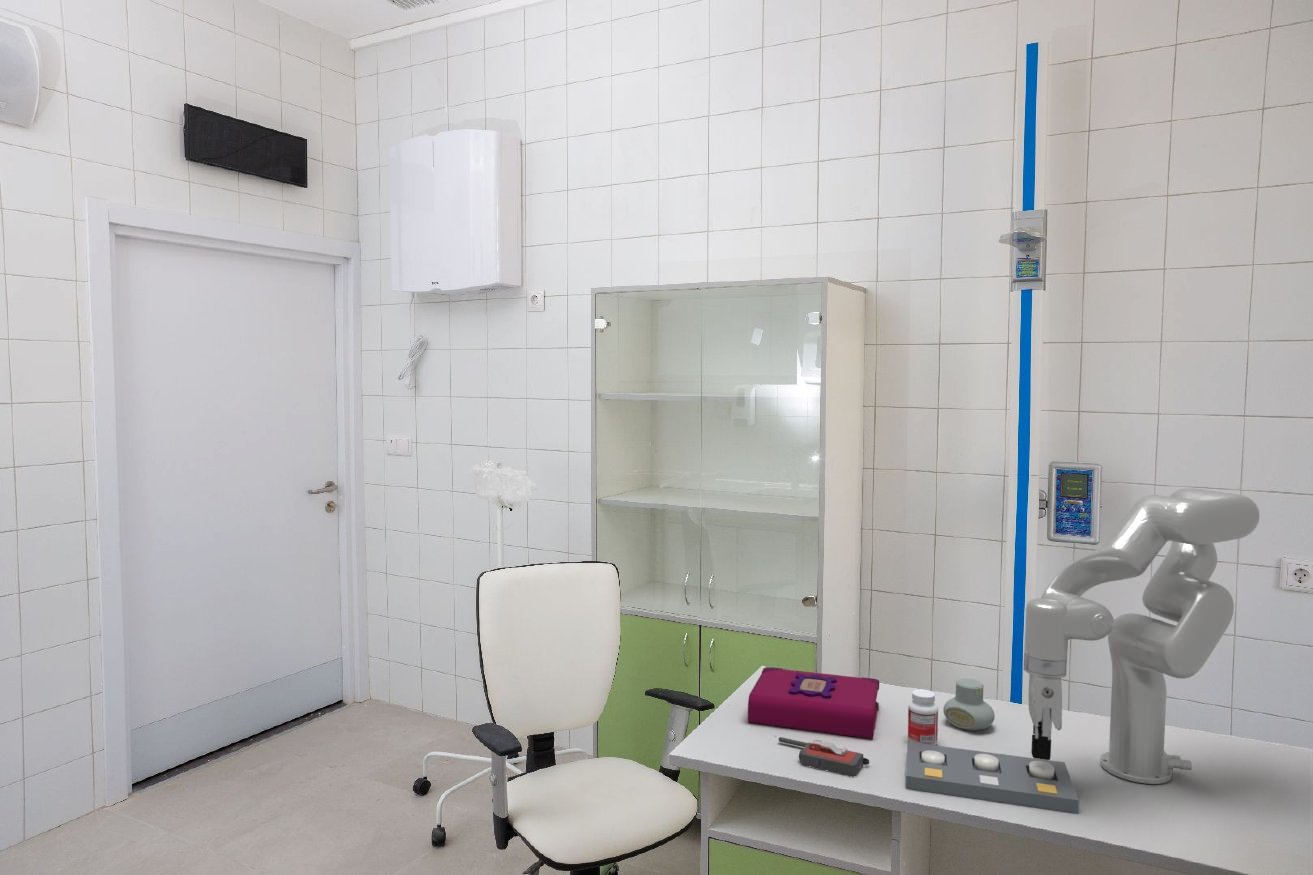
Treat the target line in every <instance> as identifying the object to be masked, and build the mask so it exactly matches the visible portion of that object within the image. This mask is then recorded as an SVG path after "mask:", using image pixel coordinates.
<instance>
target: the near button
mask: <svg viewBox="0 0 1313 875" xmlns="http://www.w3.org/2000/svg"><path fill="white" fill-rule="evenodd" d="M1029 774H1030V775H1031V776H1032V777H1034V778H1040V779H1047V780H1052V779H1054V766H1053V765H1051V764H1049V763H1047V762H1043V761H1032V762H1030V763H1029Z"/></svg>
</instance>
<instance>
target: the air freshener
mask: <svg viewBox="0 0 1313 875" xmlns="http://www.w3.org/2000/svg"><path fill="white" fill-rule="evenodd" d="M943 715H944V717H945V718H946V719H947V721H948V722H949V723H951V724H952V725H953V726H954V727H957V728H958V729H959V730H962V729H963V731H980V730H985V729H987V728H988V727H990V726H991V725H993V723H994V722H995V718H996V714H995V711H994V709H993V707H991V705H990V704H989V703H987V702H986V701H985V700H984V684H983V683H982V682H980V681H978V680H976V679H974V678H973V679H972V678H960V679H958V680H957V681H955V697H952V698H950V699H948V700H947V701H946V702H945V704H944V705H943Z"/></svg>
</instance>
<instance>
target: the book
mask: <svg viewBox="0 0 1313 875" xmlns="http://www.w3.org/2000/svg"><path fill="white" fill-rule="evenodd" d="M879 689H880V680H879V679H876V678H870V677H857V676H849V675H848V676H847V675H839V674H830V673H822V672H811V671H803V670H795V669H793V670H792V669H783V667H782V668H781V667H771V666H765V667H763V669H762V671H761V674H760V676H759V677H758V679H757V680H756V682H755V684H754V685H753V688H752V689H751V691H750V692H749V695H748V701H747V703H748V704H747V722H748V723H750V724H758V725H766V726H772V727H780V728H787V729H797V730H803V731H808V732H809V731H811V732H816V733H824V734H825V733H826V734H833V735H840V736H847V737H855V738H863V739H871V740H872V739H874V735H875V729H876V724H875V723H877V716H878V712H879V708H880V707H879V706H880V703H879V702H878V701H877V700H878V699H877V697H878V693H879ZM877 711H878V712H877Z"/></svg>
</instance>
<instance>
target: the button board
mask: <svg viewBox="0 0 1313 875" xmlns="http://www.w3.org/2000/svg"><path fill="white" fill-rule="evenodd" d="M928 750H931V751H937V752H940V753H942V754H943V755H944V756H945V763H944V765H937V764H929V763H922V762H921V759H922V752H923V751H928ZM977 754H989V755H992V756H994V757H996V758H997V759H998V760H999V762H998V771H997V772H988V771H981V770H978V769H976V768H975V766H974V761H975V755H977ZM1032 761H1043V762H1047V763H1049V764H1051V765H1053V766H1054V779H1052V780H1047V779H1040V778H1034V777H1032V776H1031V775H1030V774H1029V763H1030V762H1032ZM905 789H909V790H912V791H913V790H915V791H921V792H926V793H927V792H929V793H936V794H940V793H941V794H942V795H949V796H956V797H961V796H963V798H967V799H968V798H970V799H975V800H976V799H977V800H983V801H989V802H996V803H997V802H998V803H1004V804H1009V805H1010V804H1011V805H1017V806H1018V805H1019V806H1023V807H1024V806H1025V807H1031V808H1039V809H1044V810H1050V811H1051V810H1052V811H1059V812H1065V813H1072V814H1079V807H1080V806H1079V805H1080V800H1079V798H1078V794H1077V792H1076V789H1075V787H1074V784H1073V782H1072V779H1071V776H1070V773H1069V770H1068V767H1067V765H1066V762H1065V761H1059V760H1051V759H1050V760H1044V759H1037V758H1033V757H1025V756H1020V755H1019V756H1018V755H1013V754H1012V755H1011V754H1006V753H1005V754H1004V753H996V752H990V751H981V750H972V749H965V748H958V747H950V746H943V745H936V746H935V745H928V744H920V743H912V742H909V741H908V742H907V750H906V771H905Z"/></svg>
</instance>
